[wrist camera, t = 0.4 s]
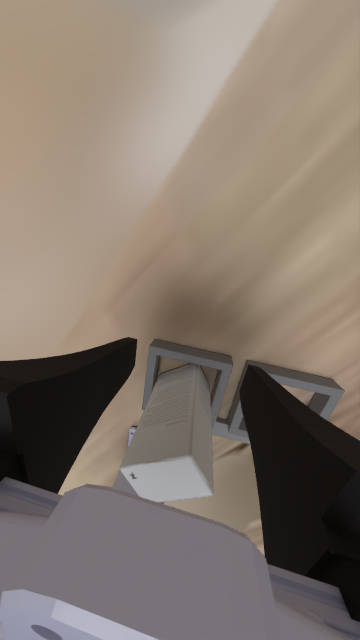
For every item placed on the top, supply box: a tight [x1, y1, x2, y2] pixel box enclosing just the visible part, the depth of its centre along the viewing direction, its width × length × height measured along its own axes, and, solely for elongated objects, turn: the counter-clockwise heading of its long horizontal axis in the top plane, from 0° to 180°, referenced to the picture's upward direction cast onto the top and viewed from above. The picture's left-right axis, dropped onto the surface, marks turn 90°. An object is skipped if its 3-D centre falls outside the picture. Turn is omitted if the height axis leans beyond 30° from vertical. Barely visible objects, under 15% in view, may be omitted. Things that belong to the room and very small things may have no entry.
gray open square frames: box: [142, 339, 345, 444], centre depth 22 cm, size 12×22×2 cm, turn 80°
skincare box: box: [120, 363, 214, 502], centre depth 18 cm, size 6×4×12 cm
